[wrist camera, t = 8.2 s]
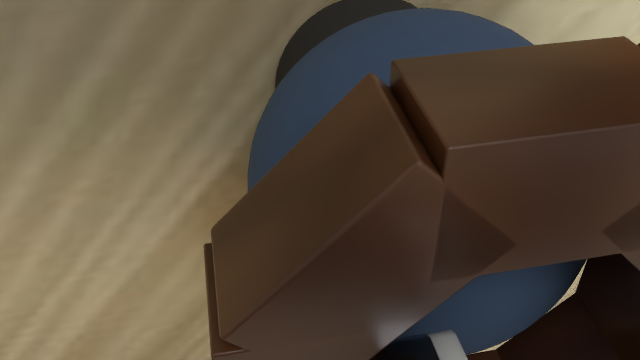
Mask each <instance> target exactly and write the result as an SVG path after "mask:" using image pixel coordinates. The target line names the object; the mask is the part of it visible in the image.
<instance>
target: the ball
mask: <svg viewBox="0 0 640 360" xmlns="http://www.w3.org/2000/svg"><path fill="white" fill-rule="evenodd" d="M523 46H533V44H532V43H530V42H529V41H528V40H526V39H525V38H523V37H522V36H520V35H519V34H517V33H516V32H514V31H512V30H511V29H508V28H506V27H504V26H502V25H499V24H497V23H495V22H493V21H490V20H487V19H485V18H482V17H479V16H476V15H472V14H468V13H464V12H460V11H452V10H443V9H433V8H420V9H418V8H416V7H415V6H413V5H412V4H410V3H407V2H405V1H403V0H341V1H339V2H336V3H334V4H332V5H329V6H328V7H326V8H324V9H322V10H321V11H319V12H317V13H316V14H315V15H313V16H312V17H311V18H309V19H308V20H307V21H306V22H305V23H304V24H303V25H302V26H301V27H300V28H299V29H298V30H297V32H296V33H295V34H294V35H293V37H292V38H291V39H290V41H289V43H288V44H287V46H286V48H285V50H284V52H283V54H282V56H281V59H280V62H279V65H278V69H277V75H276V90H275V91H274V93H273V94H272V96H271V98H270V99H269V102H268V104H267V106H266V108H265V110H264V112H263V114H262V117H261V119H260V121H259V123H258V126H257V129H256V132H255V136H254V139H253V143H252V148H251V154H250V161H249V168H248V192H249V191H250V190H251V189H252V188H253V187H254V186H255V185H256V184H257V183H258V182H259V181H260V180H261V179H262V178H263V177H264V176H265V175H266V174H267V173H268V172H269V171H270V170H271V169H272V168H273V167H274V166H275V165H276V164H277V163H278V162H279V161H280V160H281V159H282V158H283V157H284V156H285V155H286V154H287V153H288V152H289V151H290V150H291V149H292V148H293V147H294V146H295V145H296V144H297V143H298V142H299V141H300V140H301V139H302V138H303V137H304V136H305V135H306V134H307V133H308V132H309V131H310V130H311V129H312V128H313V127H314V126H315V125H316V124H317V123H318V122H319V121H320V120H321V119H322V118H323V117H324V116H325V115H326V114H328V113H329V112H330V111H331V110H332V109H333V108H334V107H335V106H336V105H337V104H338V103H339V102H340V101H341V100H342V99H343V98H344V97H345V96H346V95H347V94H348V93H349V92H350V91H351V90H352V89H353V88H354V87H355V86H356V85H357V84H358V83H359V82H360V81H361V80H362V79H363V78H364V77H365V76H366V75H367V74H368V73H373V74H375V75H376V76H378V77H379V78H380V79H381V80H382V81H383V82H385V83H386V84H387V85H388V86H389V87H390V72H391V61H392V60H395V59H404V58H414V57H424V56H434V55H444V54H454V53H464V52H474V51H483V50H493V49H503V48H513V47H523ZM586 260H587V259H582V260H576V261H569V262H563V263H557V264H550V265H544V266H538V267H531V268H525V269H519V270H513V271H506V272H500V273H494V274H487V275H481V276H477V277H476V278H475V279H473V280H472V281H471V282H469V283H468V284H467V285H466V286H464V287H463V288H462V289H460V290H459V291H458V292H456V293H455V294H454V295H453V296H451V297H450V298H449V299H447V300H446V301H445V302H443V303H442V304H441V305H440V306H438V307H437V308H436V309H434V310H433V311H432V312H430V313H429V314H428V315H427V316H425V317H424V318H423V319H421V320H420V321H419V322H418V323H416V324H415V325H414V326H412V327H411V328H410V329H408V330H407V331H406V332H405V333H403V334H402V335H401V336H399V337H398V338H402V337H408V336H413V335H418V334H429V333H434V332H439V331H444V330H452V331H453V332H454V333H455V334H456V335H457V337H458V340H459V342H460V344H461V346H462V348H463V350H464V352H465V354H466V355H467V354H471V353H475V352H478V351H482V350H485V349H488V348H490V347H493V346H495V345H498V344H500V343H502V342H504V341H506V340H508V339H510V338H512V337H514V336H516V335H517V334H519V333H521V332H522V331H524V330H525V329H527V328H528V327H529V326H531V325H532V324H533V323H535V322H536V321H537V320H538V319H540V318H541V317H542V316H543V315H545V314H546V313H547V312H548V311H549V310H550V309H551V308H552V307H553V306H554V305H555V304H556V303H557V302H558V301H559V300H560V299H561V298H562V297H563V295H564V294H565V293H566V291H567V290H568V289H569V287H570V286H571V285H572V283H573V282H574V280H575V278H576V277H577V275H578V274H579V272H580V270H581V269H582V267H583V265H584V263H585V262H586Z"/></svg>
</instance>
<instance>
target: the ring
mask: <svg viewBox="0 0 640 360" xmlns="http://www.w3.org/2000/svg"><path fill="white" fill-rule="evenodd" d="M211 240H212V243H206V244H205V245H204V259H205V273H206V288H207V302H208V317H209V332H210V346H211V357H212V360H376V359H375V355H376V354H377V353H379V352H380V351H381V350H383V349H384V348H385V347H386V346H388V345H389V344H390V343H392V342H393V341H394V340H395V339H397V338H398V337H399V336H401V335H402V334H403V333H405V332H406V331H407V330H408V329H410V328H411V327H412V326H414V325H415V324H416V323H418V322H419V321H420V320H421V319H423V318H424V317H425V316H427V315H428V314H429V313H430V312H432V311H433V310H434V309H436V308H437V307H438V306H440V305H441V304H442V303H443V302H445V301H446V300H447V299H449V298H450V297H451V296H453V295H454V294H455V293H456V292H458V291H459V290H460V289H462V288H463V287H464V286H466V285H467V284H468V283H469V282H471V281H472V280H473V279H475V278H476V277H477V276H481V275H487V274H494V273H500V272H506V271H513V270H519V269H525V268H531V267H538V266H544V265H550V264H557V263H563V262H569V261H576V260H582V259H587V262H586V265H585V267H584V270H583V273H582V276H581V278H580V281H579V284H578V287H577V289H576V292H575V293H574V294H573V295H572V296H570V297H569V298H567V299H566V300H565V301H563V302H562V303H560V304H559V305H558V306H556V307H555V308H553V309H552V310H551V311H549V312H548V313H546V314H545V315H544V316H542V317H541V318H540V319H538V320H537V321H536V322H535V323H533V324H532V325H531V326H529V327H528V328H527V329H525V330H524V331H522V332H521V333H519V334H517V335H516V336H514V337H513V338H511V339H510V340H508V341H507V342H506V343H504V344H503V345H501V346H500V347H499V348H497V349H496V350H491V351H485V352H480V353H474V354H469V355H466V356H467V358H468V360H640V43H639V44H638V45H636V44H634V43H633V42H632V41H630V40H629V39H627V38H626V37H624V36H622V37H612V38H602V39H592V40H582V41H572V42H563V43H553V44H543V45H533V46H523V47H513V48H503V49H493V50H483V51H474V52H464V53H454V54H444V55H434V56H424V57H414V58H404V59H395V60H392V61H391V72H390V87H389V86H388V85H387V84H386V83H385V82H383V81H382V80H381V79H380V78H379V77H378V76H376V75H375V74H373V73H368V74H367V75H366V76H365V77H364V78H363V79H362V80H361V81H360V82H359V83H358V84H357V85H356V86H355V87H354V88H353V89H352V90H351V91H350V92H349V93H348V94H347V95H346V96H345V97H344V98H343V99H342V100H341V101H340V102H339V103H338V104H337V105H336V106H335V107H334V108H333V109H332V110H331V111H330V112H329V113H328V114H326V115H325V116H324V117H323V118H322V119H321V120H320V121H319V122H318V123H317V124H316V125H315V126H314V127H313V128H312V129H311V130H310V131H309V132H308V133H307V134H306V135H305V136H304V137H303V138H302V139H301V140H300V141H299V142H298V143H297V144H296V145H295V146H294V147H293V148H292V149H291V150H290V151H289V152H288V153H287V154H286V155H285V156H284V157H283V158H282V159H281V160H280V161H279V162H278V163H277V164H276V165H275V166H274V167H273V168H272V169H271V170H270V171H269V172H268V173H267V174H266V175H265V176H264V177H263V178H262V179H261V180H260V181H259V182H258V183H257V184H256V185H255V186H254V187H253V188H252V189H251V190H250V191H249V192H248V193H247V194H246V195H245V196H244V197H243V198H242V199H240V200H239V201H238V202H237V203H236V204H235V205H234V206H233V207H232V208H231V209H230V210H229V211H228V212H227V213H226V214H225V215H224V216H223V217H222V218H221V219H220V220H219V221H218V222H217V223H216V224H215V225H214V226H213V227H212V229H211Z"/></svg>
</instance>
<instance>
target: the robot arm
mask: <svg viewBox="0 0 640 360" xmlns="http://www.w3.org/2000/svg"><path fill="white" fill-rule="evenodd" d="M375 359H376V360H468V358H467V356H466V354H465V352H464V350H463V348H462V346H461V344H460V342H459V340H458V337H457V335H456V334H455V333H454V332H453V331H452V330H444V331H439V332H434V333H429V334H418V335H413V336H408V337H402V338H397V339H395V340H394V341H393V342H392V343H390V344H389V345H388V346H386V347H385V348H384V349H383V350H381V351H380V352H379V353H377V354H376V355H375Z"/></svg>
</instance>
